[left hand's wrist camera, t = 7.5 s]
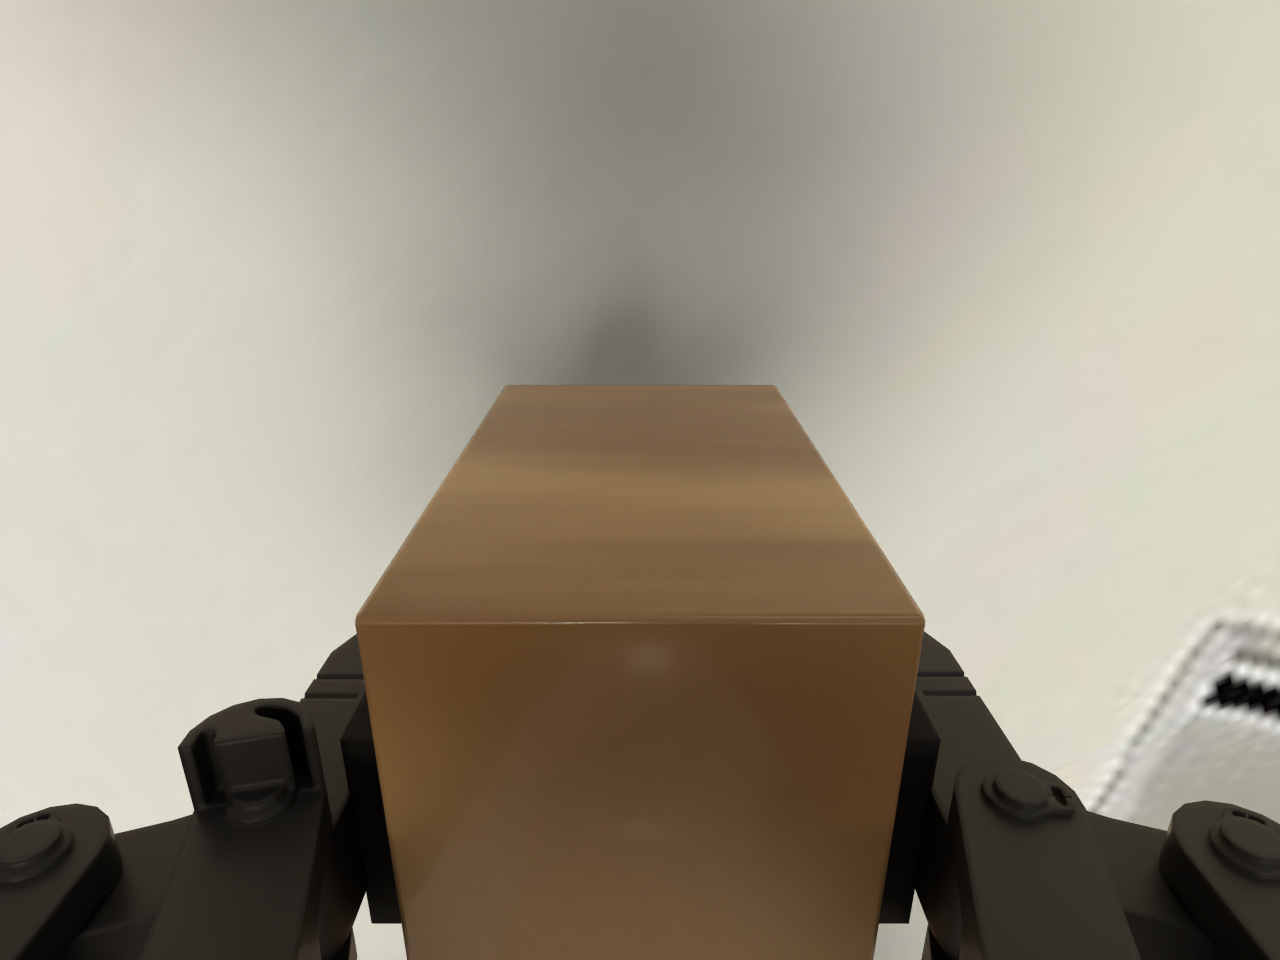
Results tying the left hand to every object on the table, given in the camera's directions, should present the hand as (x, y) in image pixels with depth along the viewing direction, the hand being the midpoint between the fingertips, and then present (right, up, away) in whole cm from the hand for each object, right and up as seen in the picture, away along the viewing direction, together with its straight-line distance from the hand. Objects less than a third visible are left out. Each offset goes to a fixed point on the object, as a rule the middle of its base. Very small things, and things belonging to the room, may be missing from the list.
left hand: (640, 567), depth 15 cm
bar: (0, -7, +3) cm, 8 cm away
